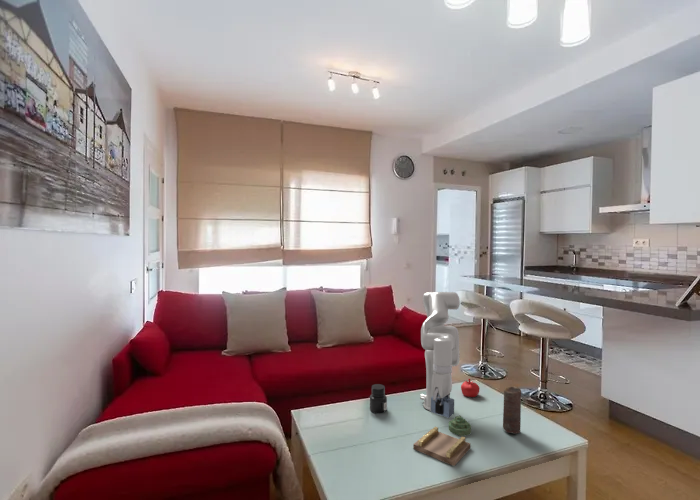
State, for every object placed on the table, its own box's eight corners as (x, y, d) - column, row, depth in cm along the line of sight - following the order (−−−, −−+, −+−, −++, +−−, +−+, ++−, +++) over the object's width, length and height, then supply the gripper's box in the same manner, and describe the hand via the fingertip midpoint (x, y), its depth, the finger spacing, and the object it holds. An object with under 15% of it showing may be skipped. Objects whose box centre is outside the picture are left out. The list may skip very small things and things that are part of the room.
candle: (522, 437, 161) (523, 392, 160) (504, 435, 162) (505, 391, 162) (518, 428, 168) (518, 385, 168) (501, 426, 170) (501, 384, 169)
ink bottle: (389, 413, 183) (389, 389, 183) (372, 415, 181) (372, 391, 181) (383, 404, 193) (383, 382, 193) (367, 406, 191) (367, 383, 190)
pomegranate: (477, 400, 198) (477, 384, 198) (458, 396, 203) (459, 380, 203) (481, 393, 207) (481, 377, 206) (463, 389, 212) (463, 374, 211)
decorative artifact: (471, 426, 170) (449, 423, 174) (471, 412, 170) (449, 408, 173) (470, 437, 161) (447, 433, 164) (471, 422, 161) (447, 418, 164)
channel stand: (413, 448, 152) (413, 439, 152) (431, 433, 164) (431, 424, 164) (454, 466, 140) (454, 456, 140) (470, 448, 152) (470, 438, 152)
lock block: (430, 411, 152) (431, 397, 152) (436, 407, 156) (436, 393, 156) (448, 417, 147) (448, 403, 147) (454, 413, 151) (454, 399, 151)
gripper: (443, 360, 160) (443, 401, 161) (424, 371, 147) (424, 415, 148) (459, 364, 155) (459, 406, 156) (441, 375, 142) (441, 421, 143)
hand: (442, 410), depth 152 cm, fingers closed on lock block, 5 cm apart
